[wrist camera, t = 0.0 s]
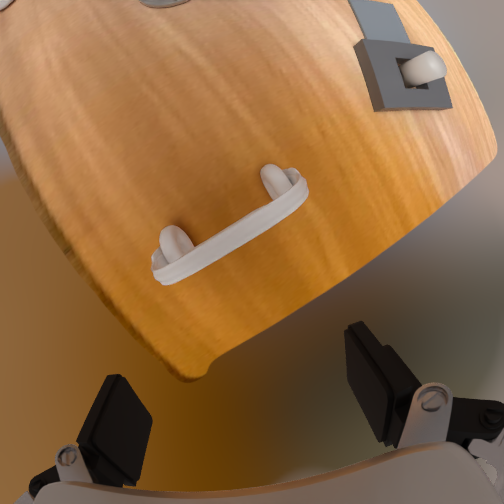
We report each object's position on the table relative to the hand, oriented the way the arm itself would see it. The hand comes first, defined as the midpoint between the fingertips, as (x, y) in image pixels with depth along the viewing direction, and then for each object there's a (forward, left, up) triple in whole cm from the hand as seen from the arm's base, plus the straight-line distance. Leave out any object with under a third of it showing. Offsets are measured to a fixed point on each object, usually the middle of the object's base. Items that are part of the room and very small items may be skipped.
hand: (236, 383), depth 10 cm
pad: (-31, +34, -31) cm, 56 cm away
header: (-19, +34, -31) cm, 50 cm away
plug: (-19, +34, -31) cm, 50 cm away
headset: (-2, 0, -32) cm, 32 cm away
